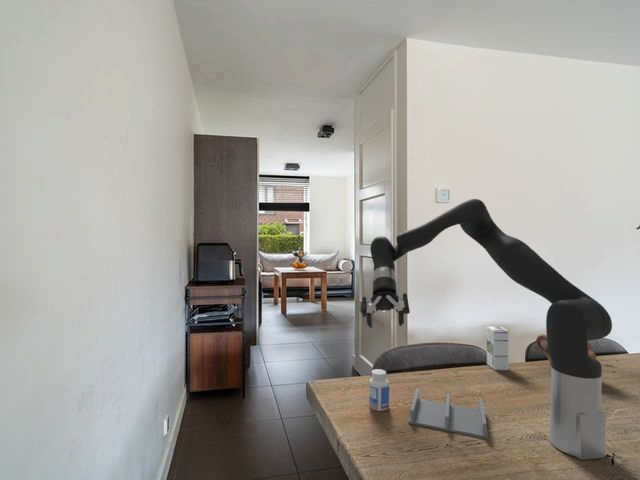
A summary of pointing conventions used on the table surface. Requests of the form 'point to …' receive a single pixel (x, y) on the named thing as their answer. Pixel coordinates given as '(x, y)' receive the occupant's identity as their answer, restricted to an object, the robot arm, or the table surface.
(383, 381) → the pill bottle
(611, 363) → the table surface
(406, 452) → the table surface
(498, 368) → the syrup box
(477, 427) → the dish rack
